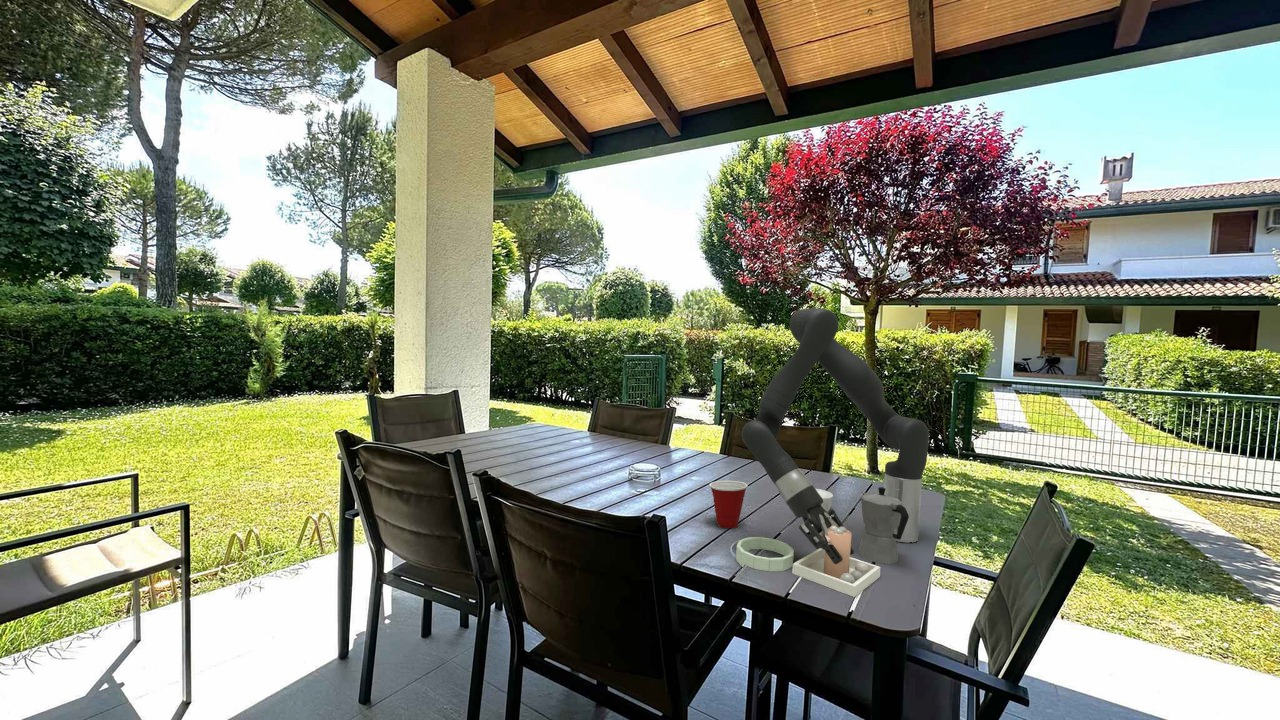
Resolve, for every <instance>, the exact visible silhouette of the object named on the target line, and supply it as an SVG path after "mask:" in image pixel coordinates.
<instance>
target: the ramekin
mask: <svg viewBox="0 0 1280 720" xmlns="http://www.w3.org/2000/svg"><path fill="white" fill-rule="evenodd" d="M815 489H816V490H817V492H818V493H819V495H820V496H821V497H822V499H823V503H822V504H821V506H822V507H823V508H824V509H825V510H826V511H830V510H831V505H832V502H833V499H834V495H833V493H832V492H830V491H828V490H824V489H820V488H815Z"/></svg>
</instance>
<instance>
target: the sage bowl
mask: <svg viewBox="0 0 1280 720" xmlns="http://www.w3.org/2000/svg"><path fill="white" fill-rule="evenodd" d="M750 550H765V551H770V552H775V553H778V554H780V555H782V557H765V556H759V555H755V554H752V553H750V552H751V551H750ZM794 551H795V550H794V548H793V547H791V546H790V545H789V544H788V543H786V542H784V541H781V540H778V539H775V538H769V537H763V536H749V537H745V538H743V539H740V540H738V542H737V544H736V553H735V554H736V555H735V561H736V562H737V563H738V564H739V566H741V567H742V568H744V567H745V566H746V567H749V568H752V569H753V570H760V571H764V572H784V571H786V570H788V569H791V568H793V563H794V556H795V555H794V553H795V552H794Z"/></svg>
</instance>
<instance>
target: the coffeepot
mask: <svg viewBox="0 0 1280 720" xmlns="http://www.w3.org/2000/svg"><path fill="white" fill-rule="evenodd" d="M877 489H878V493H874V492H862V493H861V494H862V495H860V501H861V513H862V522H863V524H864V530H863V531H862V533H861V534H862V535H861V539H860V542H859V543H860V544H859V547H858V550H857V552H858V553H859V555H860V557H861V558H862V559H865V560H867V561H871V562H873V563H876V564H888V565H892V564H894V563H896V562H899V555H898V546H897V541H896V539H898V540H900V539H901V537H902V535H903V532H904V529H905V527H906V524H907V521H908V519H909V515H908V513H907V511H906V508H905V507H904V506H902V504H903V503H902V502H901V501H900V500H898V499H897V498H894V497H890V496H887V495H884V493H885V490H886V489H885V488H884V486H881V487H880V486H879V487H878V488H877ZM900 514H901V518H900V524H899V526H898V528H897V525H898V521H899V516H900ZM896 528H897V534H894V530H895V529H896Z"/></svg>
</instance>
